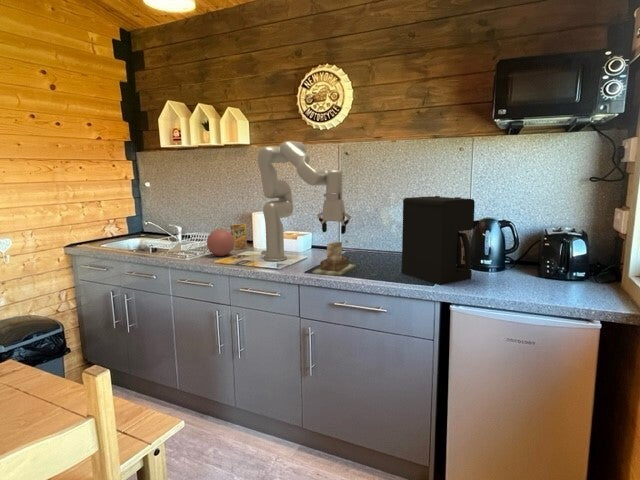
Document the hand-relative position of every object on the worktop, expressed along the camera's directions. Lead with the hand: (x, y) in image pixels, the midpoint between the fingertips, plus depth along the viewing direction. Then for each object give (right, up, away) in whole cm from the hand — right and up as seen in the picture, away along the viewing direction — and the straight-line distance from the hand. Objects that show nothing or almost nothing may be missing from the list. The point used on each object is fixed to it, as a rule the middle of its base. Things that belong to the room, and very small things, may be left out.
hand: (333, 232), depth 197 cm
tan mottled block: (+1, -17, +2) cm, 17 cm away
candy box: (-57, -9, +62) cm, 84 cm away
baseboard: (-96, -9, +66) cm, 116 cm away
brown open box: (+1, -18, +3) cm, 18 cm away
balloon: (-62, -12, +42) cm, 76 cm away
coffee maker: (+46, -20, -13) cm, 52 cm away
